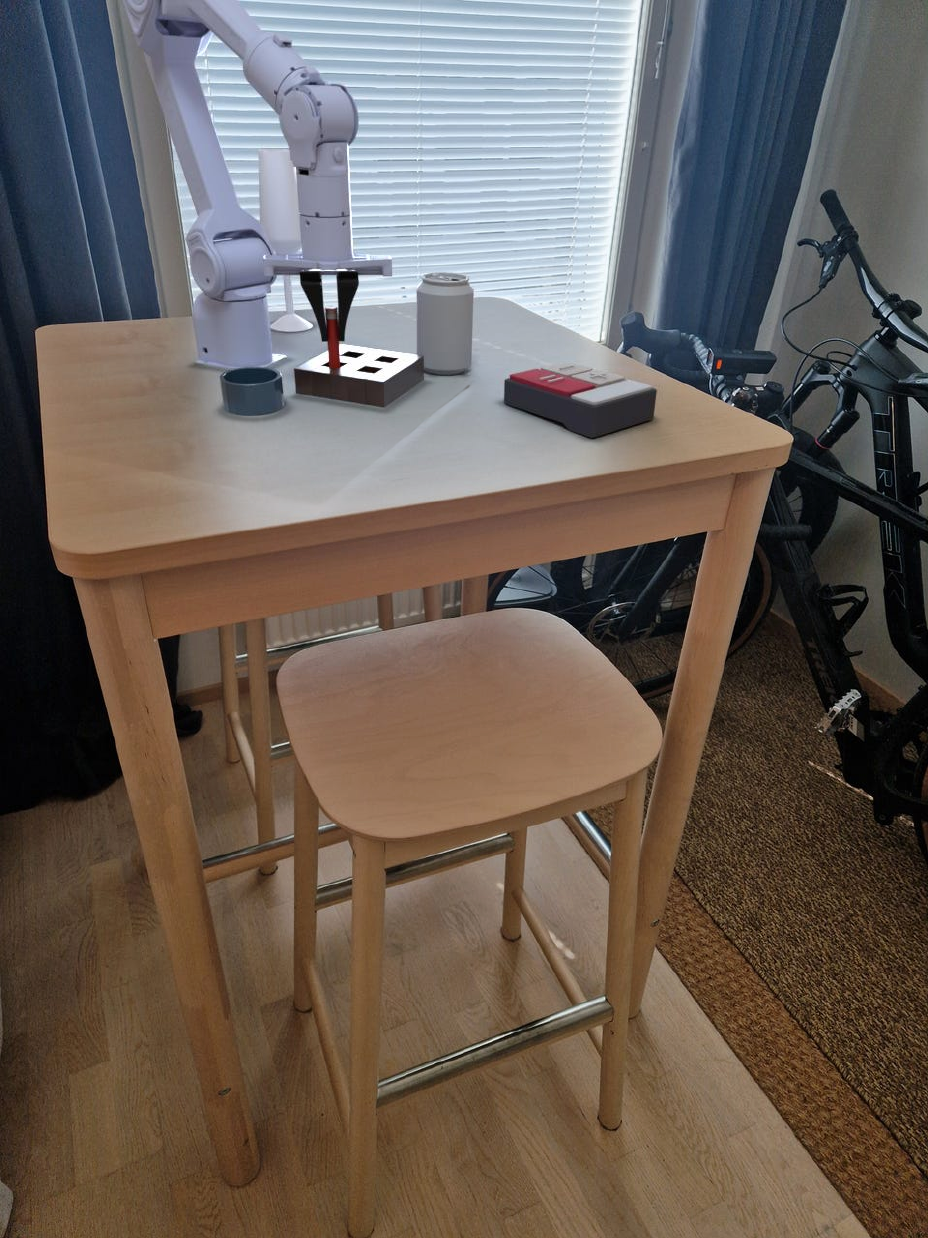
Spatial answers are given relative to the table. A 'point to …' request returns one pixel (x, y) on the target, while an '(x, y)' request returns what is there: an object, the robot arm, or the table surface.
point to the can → (445, 322)
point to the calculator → (581, 398)
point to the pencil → (332, 336)
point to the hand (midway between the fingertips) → (332, 339)
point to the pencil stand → (360, 376)
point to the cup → (252, 391)
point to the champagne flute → (281, 221)
